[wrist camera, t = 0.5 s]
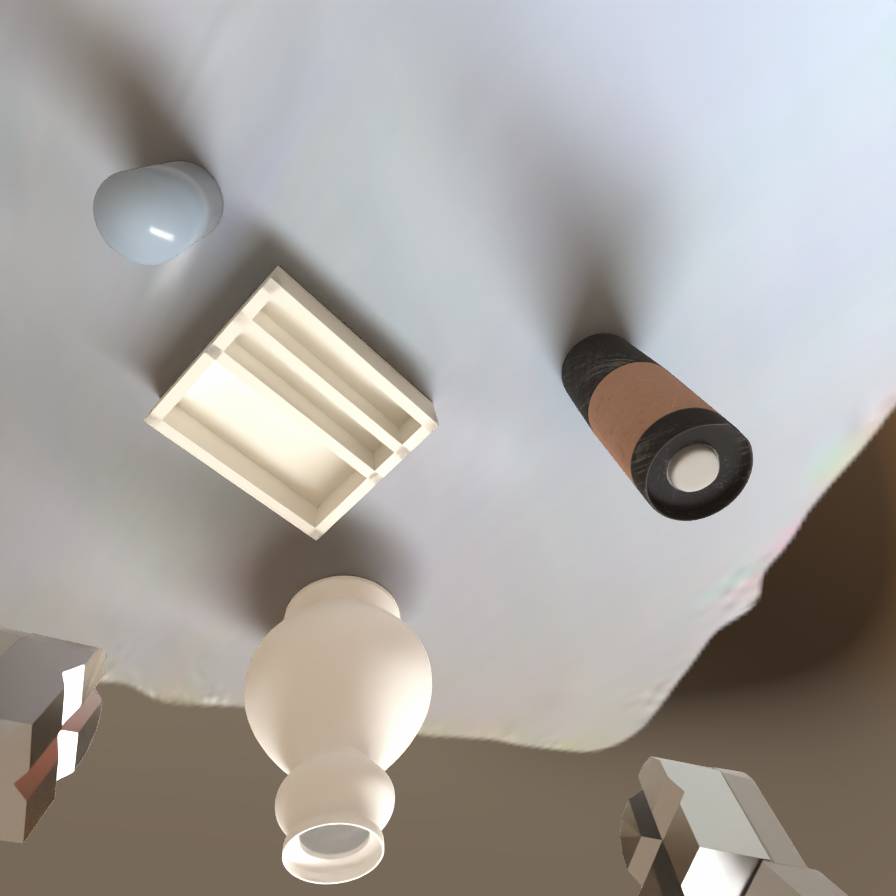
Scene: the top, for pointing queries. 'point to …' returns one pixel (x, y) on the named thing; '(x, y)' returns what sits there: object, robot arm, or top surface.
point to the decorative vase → (337, 721)
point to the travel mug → (657, 429)
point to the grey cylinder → (157, 210)
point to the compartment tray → (294, 408)
